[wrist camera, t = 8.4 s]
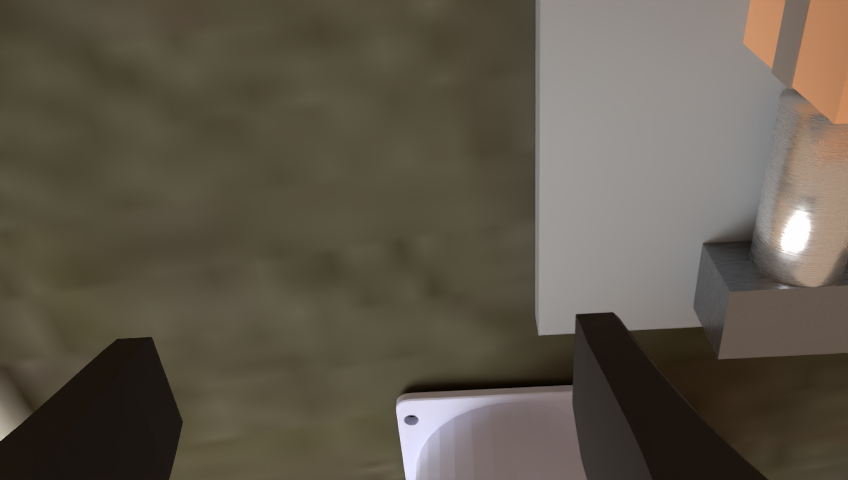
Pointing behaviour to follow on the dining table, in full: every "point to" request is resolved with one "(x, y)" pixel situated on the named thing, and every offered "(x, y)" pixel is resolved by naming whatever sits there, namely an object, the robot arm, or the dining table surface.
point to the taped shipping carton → (804, 49)
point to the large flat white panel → (643, 153)
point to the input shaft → (786, 249)
